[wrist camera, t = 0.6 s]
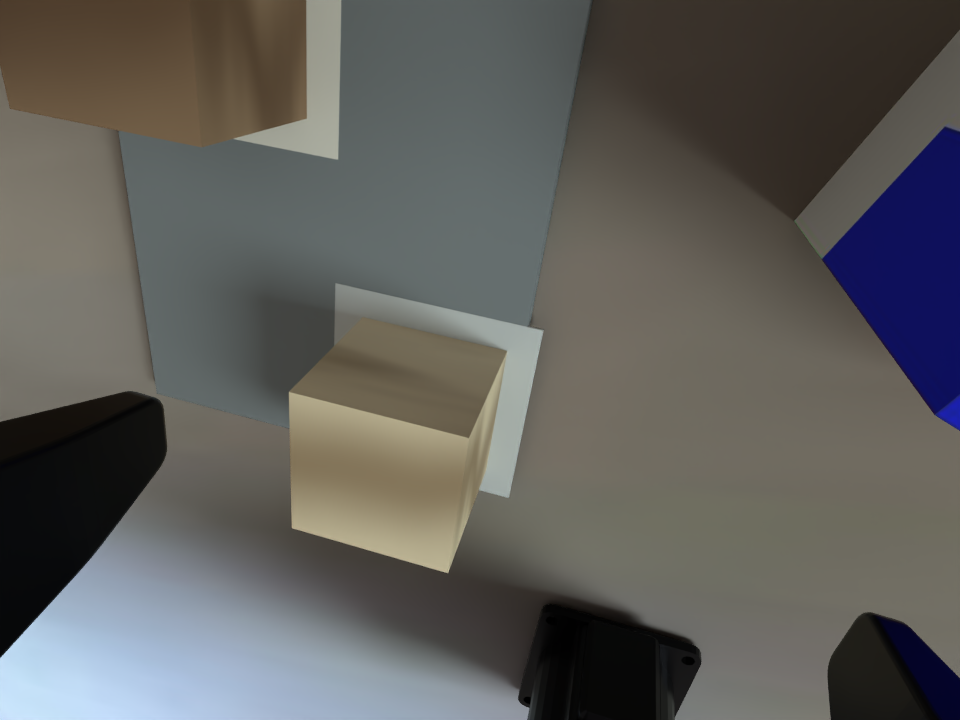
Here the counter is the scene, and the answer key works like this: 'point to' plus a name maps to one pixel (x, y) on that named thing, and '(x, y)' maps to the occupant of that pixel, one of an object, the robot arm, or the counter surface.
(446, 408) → the maple cube
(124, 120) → the walnut cube
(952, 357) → the puzzle toy
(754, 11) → the counter surface
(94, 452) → the robot arm
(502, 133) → the mat
